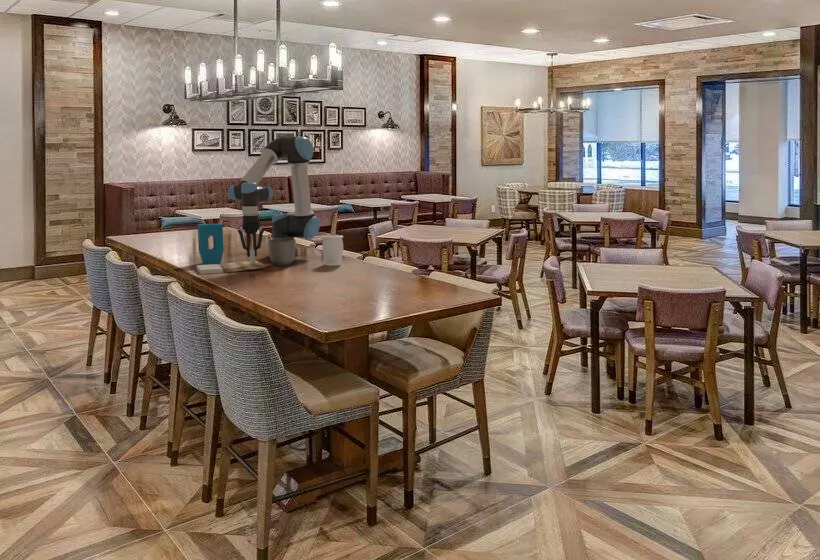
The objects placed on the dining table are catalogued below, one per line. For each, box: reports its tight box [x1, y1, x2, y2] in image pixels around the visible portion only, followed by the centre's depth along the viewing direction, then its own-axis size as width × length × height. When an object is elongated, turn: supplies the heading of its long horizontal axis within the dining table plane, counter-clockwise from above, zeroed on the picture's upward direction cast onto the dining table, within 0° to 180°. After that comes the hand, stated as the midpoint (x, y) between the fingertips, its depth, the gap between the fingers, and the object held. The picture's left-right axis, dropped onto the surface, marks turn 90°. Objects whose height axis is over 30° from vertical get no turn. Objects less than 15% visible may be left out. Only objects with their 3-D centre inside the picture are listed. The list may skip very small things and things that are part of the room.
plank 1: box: [219, 260, 259, 269], centre depth 379 cm, size 18×6×2 cm, turn 113°
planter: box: [267, 238, 297, 267], centre depth 387 cm, size 14×14×13 cm
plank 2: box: [223, 261, 264, 274], centre depth 371 cm, size 18×6×2 cm, turn 113°
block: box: [197, 223, 225, 265], centre depth 392 cm, size 12×5×20 cm, turn 117°
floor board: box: [196, 264, 225, 275], centre depth 370 cm, size 11×15×2 cm
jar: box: [321, 234, 344, 267], centre depth 388 cm, size 11×10×15 cm
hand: (252, 263), depth 373 cm, fingers closed, pressing on plank 2
